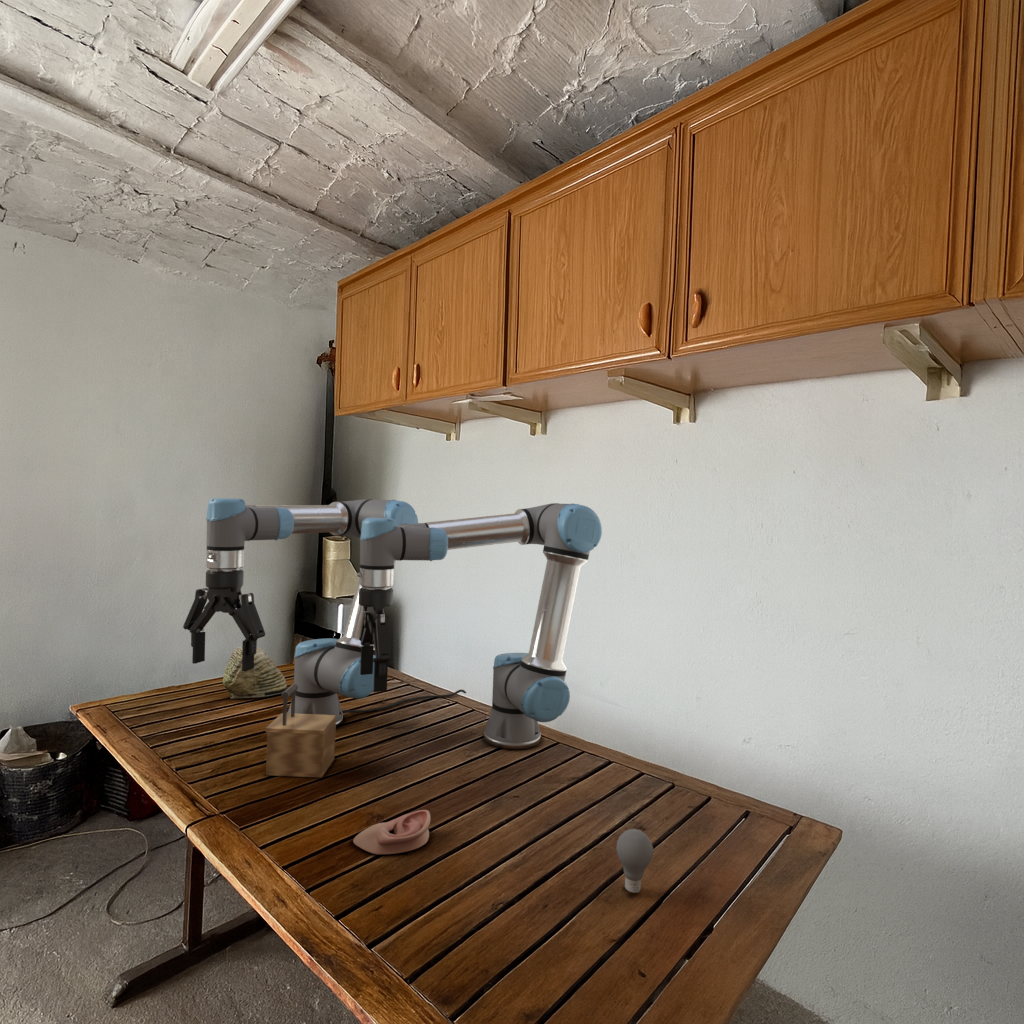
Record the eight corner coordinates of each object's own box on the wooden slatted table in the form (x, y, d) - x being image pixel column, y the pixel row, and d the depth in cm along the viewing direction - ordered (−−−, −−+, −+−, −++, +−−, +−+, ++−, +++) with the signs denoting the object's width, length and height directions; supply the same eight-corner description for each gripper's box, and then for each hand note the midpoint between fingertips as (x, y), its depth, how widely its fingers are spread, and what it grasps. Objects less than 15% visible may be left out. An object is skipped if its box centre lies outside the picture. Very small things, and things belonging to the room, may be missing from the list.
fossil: (218, 695, 195) (220, 647, 195) (278, 685, 208) (279, 640, 207) (228, 703, 189) (230, 653, 188) (289, 692, 201) (290, 645, 201)
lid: (265, 732, 143) (266, 693, 142) (281, 716, 153) (283, 680, 153) (323, 734, 143) (324, 696, 142) (335, 718, 153) (337, 683, 153)
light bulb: (610, 879, 108) (613, 822, 108) (644, 879, 109) (647, 822, 109) (619, 902, 102) (622, 840, 102) (655, 901, 103) (658, 840, 103)
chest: (265, 775, 143) (267, 732, 143) (282, 756, 153) (283, 717, 153) (321, 777, 143) (323, 734, 143) (334, 759, 153) (336, 719, 153)
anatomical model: (346, 827, 114) (372, 798, 125) (345, 849, 114) (372, 818, 125) (416, 839, 111) (436, 808, 122) (415, 861, 111) (436, 828, 123)
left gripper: (166, 566, 138) (164, 663, 139) (259, 575, 130) (256, 677, 131) (194, 563, 145) (192, 655, 146) (283, 571, 137) (281, 668, 138)
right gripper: (348, 580, 150) (345, 669, 151) (371, 596, 128) (368, 701, 128) (379, 579, 153) (376, 666, 154) (408, 595, 131) (404, 697, 131)
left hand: (222, 666), depth 138 cm, fingers open, 13 cm apart
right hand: (372, 682), depth 141 cm, fingers open, 13 cm apart
